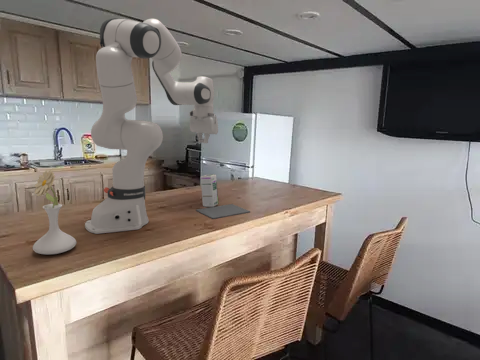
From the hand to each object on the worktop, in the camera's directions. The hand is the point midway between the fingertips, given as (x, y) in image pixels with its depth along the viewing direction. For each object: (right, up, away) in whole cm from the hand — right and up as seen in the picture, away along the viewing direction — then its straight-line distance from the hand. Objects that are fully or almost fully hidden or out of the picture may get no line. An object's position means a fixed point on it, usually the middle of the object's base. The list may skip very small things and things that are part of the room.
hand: (203, 142), depth 152 cm
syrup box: (+4, -30, -1) cm, 30 cm away
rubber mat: (+10, -32, -9) cm, 34 cm away
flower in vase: (-38, -39, -56) cm, 78 cm away
